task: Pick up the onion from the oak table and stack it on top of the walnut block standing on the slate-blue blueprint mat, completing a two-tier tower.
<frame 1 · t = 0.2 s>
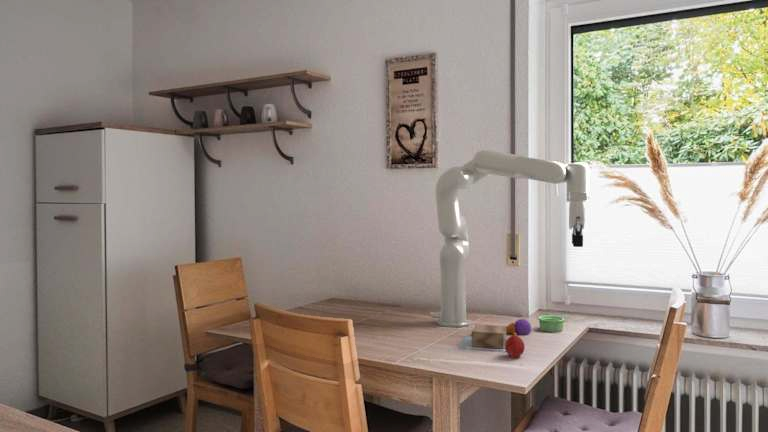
hand: (577, 245, 207), 31 cm above the table, fingers open, 9 cm apart
blueprint mat: (489, 346, 189), on the table
maraca: (502, 337, 202), on the table
ramekin: (551, 330, 211), on the table
onion: (514, 359, 175), on the table
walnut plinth: (489, 344, 189), resting on blueprint mat
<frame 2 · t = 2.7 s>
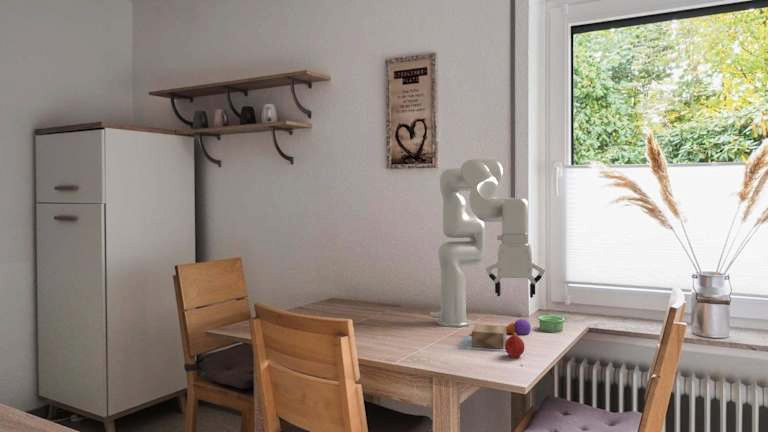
hand: (515, 296, 174), 19 cm above the table, fingers open, 9 cm apart
nothing on the table moved.
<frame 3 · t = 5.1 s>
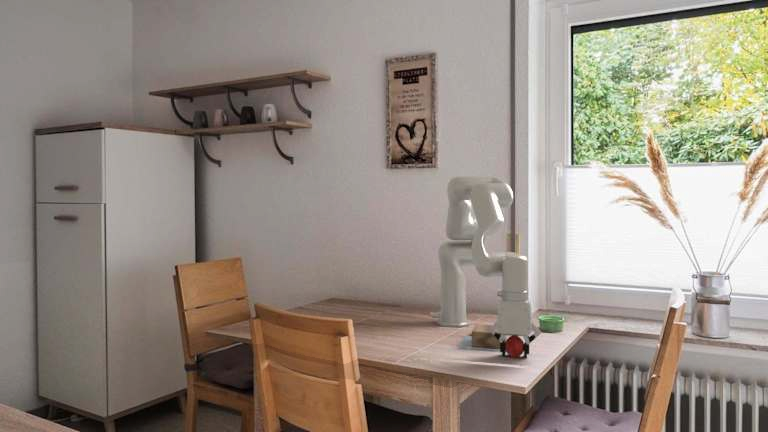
hand: (514, 355, 175), 1 cm above the table, fingers closed on onion, 5 cm apart
onion: (514, 359, 175), on the table, touching gripper
everything else where it was.
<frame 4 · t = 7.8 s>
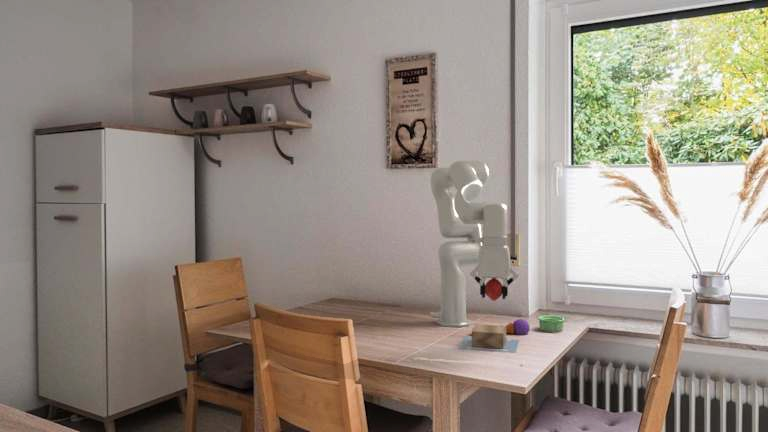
hand: (493, 297, 186), 17 cm above the table, fingers closed on onion, 5 cm apart
onion: (493, 301, 186), point 15 cm above the table, touching gripper
everything else where it was.
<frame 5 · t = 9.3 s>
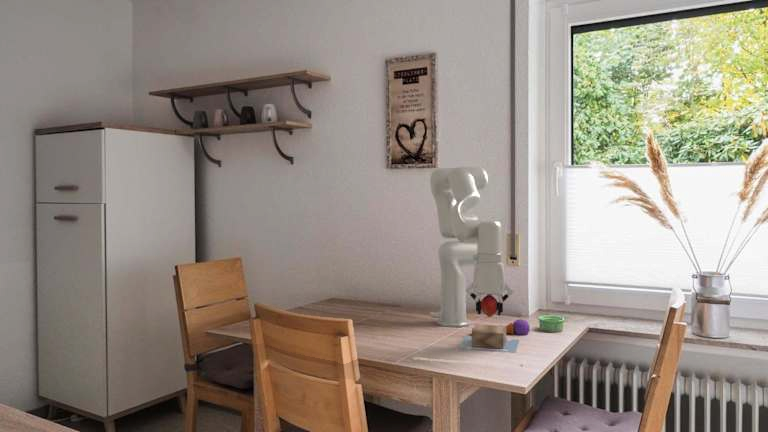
hand: (489, 313, 188), 11 cm above the table, fingers closed on onion, 5 cm apart
onion: (489, 317, 188), point 10 cm above the table, touching gripper
everything else where it was.
when the fingers open (8 cm above the table, at t = 10.6 s): onion drops 1 cm, resting on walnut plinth.
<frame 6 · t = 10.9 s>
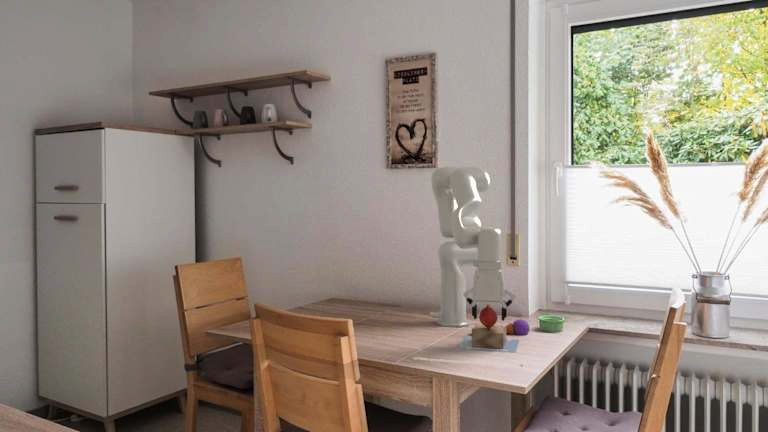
hand: (489, 318, 189), 9 cm above the table, fingers open, 8 cm apart
onion: (488, 329, 189), point 6 cm above the table, touching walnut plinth
everything else where it was.
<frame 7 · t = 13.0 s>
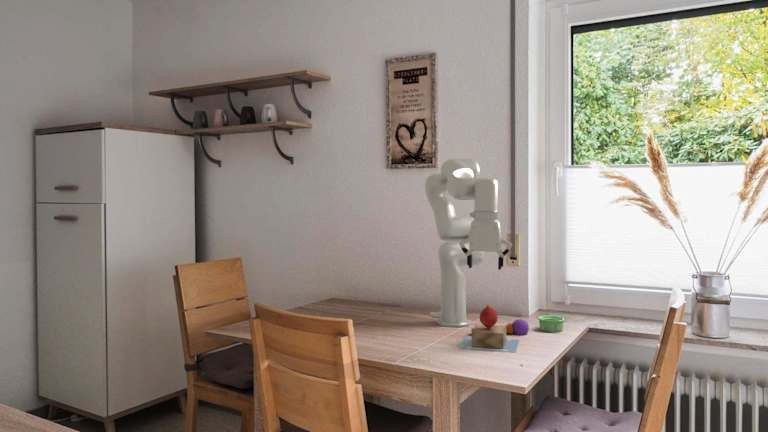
hand: (485, 268, 191), 25 cm above the table, fingers open, 9 cm apart
nothing on the table moved.
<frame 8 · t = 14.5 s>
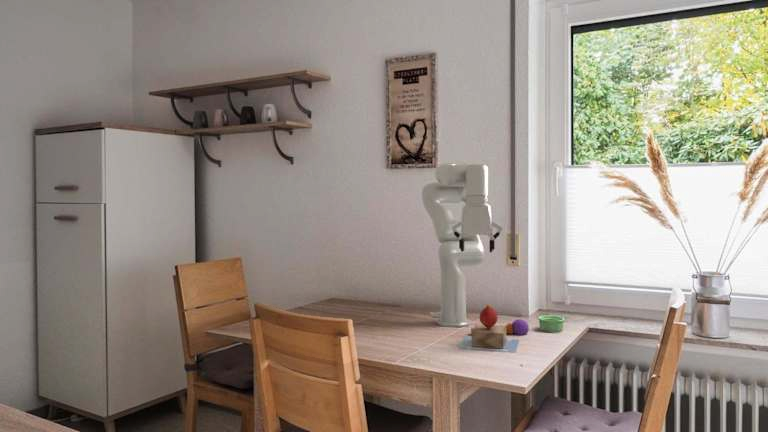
hand: (476, 251, 196), 30 cm above the table, fingers open, 9 cm apart
nothing on the table moved.
at the end: onion inside the target area on the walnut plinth (0.4 cm from its centre), point 4.8 cm above the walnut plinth's base; the gripper is holding nothing; onion tilted 0° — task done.
